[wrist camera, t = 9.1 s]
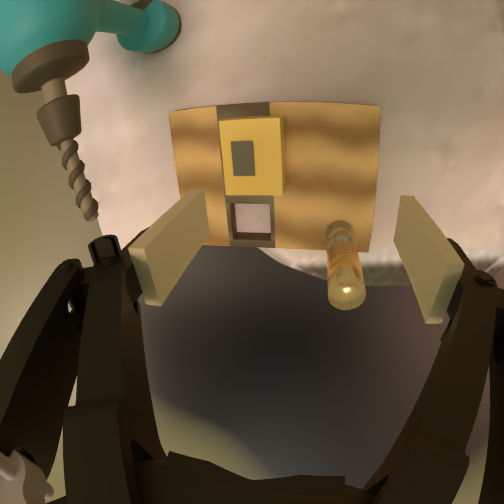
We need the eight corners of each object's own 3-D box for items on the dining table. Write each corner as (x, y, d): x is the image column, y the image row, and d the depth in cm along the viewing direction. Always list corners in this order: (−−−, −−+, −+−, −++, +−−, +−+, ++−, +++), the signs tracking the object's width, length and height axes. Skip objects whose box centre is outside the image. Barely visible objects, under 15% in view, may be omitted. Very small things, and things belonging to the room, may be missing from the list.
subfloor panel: (175, 110, 32) (168, 112, 30) (376, 105, 27) (380, 106, 26) (193, 237, 41) (188, 244, 40) (366, 244, 36) (368, 252, 35)
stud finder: (229, 117, 30) (217, 121, 26) (283, 115, 29) (279, 118, 25) (235, 184, 34) (225, 196, 30) (286, 184, 33) (282, 196, 29)
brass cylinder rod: (326, 219, 34) (329, 278, 24) (354, 221, 33) (368, 280, 23) (325, 244, 36) (326, 309, 25) (351, 245, 35) (362, 310, 25)
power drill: (220, 150, 34) (99, 240, 14) (161, 164, 36) (29, 253, 17) (175, -36, 21) (49, -98, 1) (120, -9, 23) (-16, -32, 4)
